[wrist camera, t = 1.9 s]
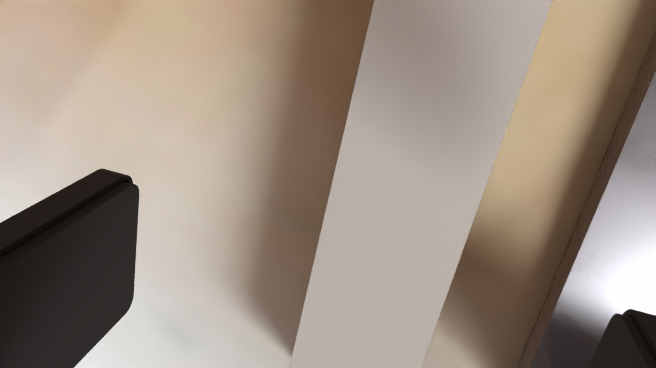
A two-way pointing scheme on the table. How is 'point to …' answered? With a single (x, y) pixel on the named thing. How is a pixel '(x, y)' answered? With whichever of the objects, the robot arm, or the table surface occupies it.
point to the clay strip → (411, 174)
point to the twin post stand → (607, 243)
